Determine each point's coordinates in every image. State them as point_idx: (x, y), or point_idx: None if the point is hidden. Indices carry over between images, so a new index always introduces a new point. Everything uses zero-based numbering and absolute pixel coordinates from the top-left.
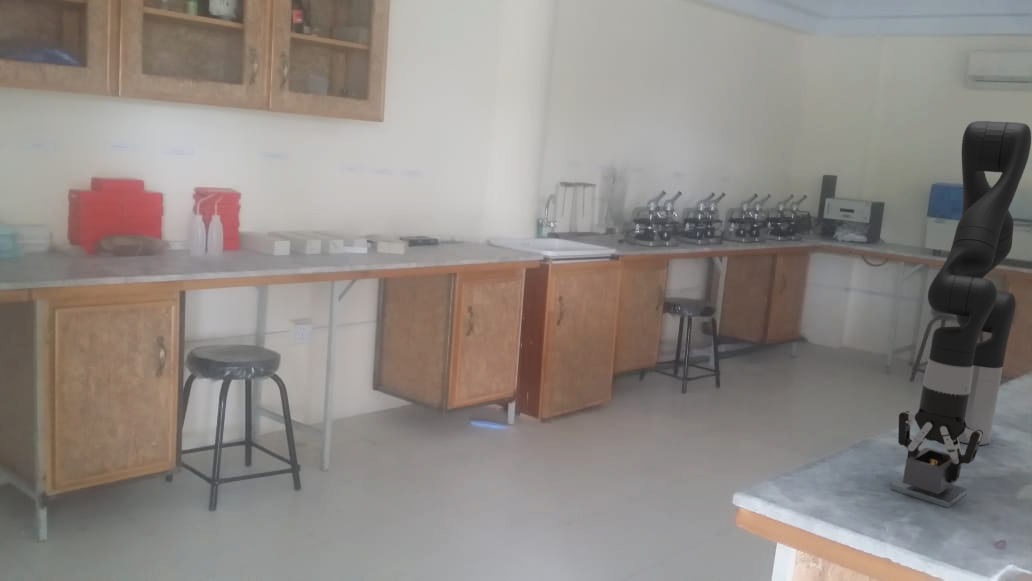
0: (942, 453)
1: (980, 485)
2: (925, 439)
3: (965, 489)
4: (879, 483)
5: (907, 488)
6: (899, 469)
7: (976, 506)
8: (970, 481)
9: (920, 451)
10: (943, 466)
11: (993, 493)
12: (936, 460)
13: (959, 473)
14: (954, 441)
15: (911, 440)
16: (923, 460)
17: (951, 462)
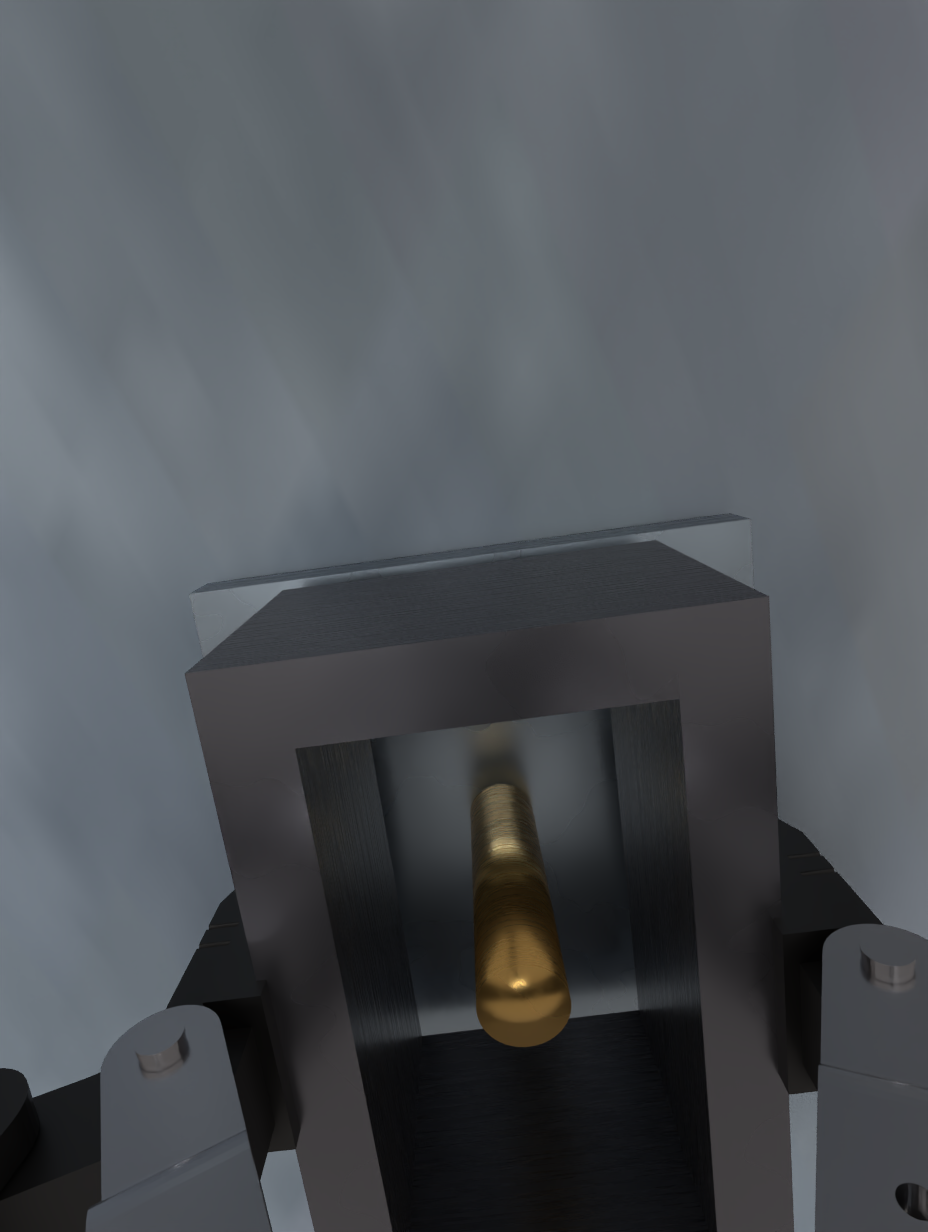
0: (491, 704)
1: (711, 30)
2: (251, 1152)
3: (745, 555)
4: (173, 957)
5: (422, 1030)
6: (17, 445)
7: (879, 694)
8: (592, 7)
9: (261, 946)
10: (752, 1208)
11: (885, 160)
12: (551, 987)
13: (825, 869)
14: (901, 1206)
15: (75, 1193)
16: (353, 886)
17: (794, 1059)
